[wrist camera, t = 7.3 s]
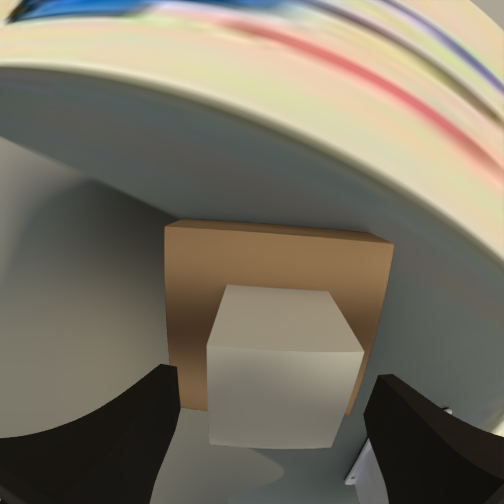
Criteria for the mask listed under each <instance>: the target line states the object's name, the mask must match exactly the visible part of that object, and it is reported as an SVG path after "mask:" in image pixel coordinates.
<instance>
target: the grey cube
mask: <svg viewBox="0 0 504 504" xmlns="http://www.w3.org/2000/svg"><path fill="white" fill-rule="evenodd" d="M363 355H364V350H363V348H362V347H361V345H360V343H359V341H358V340H357V338H356V336H355V335H354V333H353V331H352V330H351V328H350V326H349V325H348V323H347V321H346V319H345V318H344V316H343V314H342V313H341V311H340V310H339V308H338V306H337V305H336V303H335V301H334V300H333V298H332V296H331V295H330V293H329V292H328V291H315V290H298V289H282V288H267V287H253V286H240V285H227V286H226V289H225V292H224V295H223V298H222V301H221V304H220V307H219V310H218V313H217V316H216V319H215V322H214V325H213V328H212V331H211V334H210V337H209V340H208V343H207V399H208V428H209V429H208V430H209V444H214V445H223V446H233V447H245V448H264V449H311V448H330V447H332V444H333V442H334V439H335V437H336V434H337V432H338V429H339V427H340V424H341V422H342V419H343V416H344V414H345V411H346V408H347V405H348V403H349V400H350V397H351V394H352V391H353V388H354V385H355V382H356V379H357V375H358V372H359V369H360V366H361V362H362V359H363Z"/></svg>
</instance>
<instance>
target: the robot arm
mask: <svg viewBox="0 0 504 504" xmlns="http://www.w3.org/2000/svg"><path fill="white" fill-rule="evenodd" d="M180 409H181V404H180V395H179V384H178V372H177V366H171V365H165V364H160V365H159V366H157V367H156V368H155V369H153V370H152V371H151V372H150V373H148V374H147V375H146V376H144V378H142V379H141V380H139V381H138V382H137V383H136V384H134V385H133V386H131V387H130V388H129V389H127V390H126V391H125V392H123V393H122V394H121V395H119V396H118V397H116V398H115V399H113V400H112V401H110V402H108V403H107V404H105V405H104V406H102V407H101V408H99V409H97V410H95V411H93V412H92V413H90V414H87V415H85V416H83V417H81V418H79V419H77V420H75V421H72V422H69V423H67V424H64V425H61V426H58V427H56V428H53V429H50V430H46V431H42V432H39V433H34V434H30V435H25V436H18V437H10V438H0V499H1V501H0V504H149V503H150V499H151V495H152V491H153V487H154V483H155V480H156V478H157V475H158V472H159V470H160V467H161V464H162V462H163V460H164V457H165V455H166V452H167V450H168V447H169V445H170V442H171V439H172V437H173V435H174V432H175V429H176V425H177V421H178V417H179V413H180ZM451 414H452V411H451V409H446V410H443V409H441V408H440V407H438V406H437V405H435V404H434V403H432V402H431V401H430V400H428V399H427V398H425V397H424V396H423V395H421V394H420V393H418V392H417V391H416V390H414V389H413V388H412V387H410V386H409V385H408V384H406V383H405V382H403V381H402V380H401V379H399V378H398V377H396V376H395V375H393V374H387V375H378V377H377V380H376V383H375V385H374V388H373V391H372V394H371V396H370V399H369V401H368V404H367V407H366V409H365V412H364V414H363V415H364V420H365V425H366V430H367V434H368V440H367V442H366V444H365V446H364V448H363V450H362V451H361V453H360V455H359V457H358V459H357V461H356V462H355V464H354V466H353V468H352V469H351V471H350V473H349V474H348V476H347V478H346V479H345V484H346V485H351V484H355V488H356V492H357V496H358V500H359V504H504V437H502V436H498V435H495V434H492V433H489V432H486V431H483V430H481V429H478V428H476V427H474V426H472V425H470V424H468V423H466V422H464V421H462V420H460V419H458V418H456V417H454V416H453V415H451Z"/></svg>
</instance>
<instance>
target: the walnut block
mask: <svg viewBox="0 0 504 504" xmlns="http://www.w3.org/2000/svg"><path fill="white" fill-rule="evenodd" d="M393 248H394V244H393V243H391V242H389V241H386V240H384V239H382V238H380V237H378V236H376V235H374V234H371V233H364V232H354V231H344V230H333V229H322V228H311V227H299V226H287V225H274V224H261V223H247V222H232V221H217V220H200V219H181V220H179V221H176V222H174V223H172V224H170V225H167V226H165V299H166V321H167V335H168V336H167V337H168V351H169V361H170V362H169V363H170V365H171V366H177V372H178V384H179V395H180V404H181V407H182V408H189V409H195V410H202V411H208V399H207V343H208V340H209V337H210V334H211V331H212V328H213V325H214V322H215V319H216V316H217V313H218V310H219V307H220V304H221V301H222V298H223V295H224V292H225V289H226V286H227V285H240V286H253V287H267V288H282V289H298V290H315V291H328V292H329V293H330V295H331V296H332V298H333V300H334V301H335V303H336V305H337V306H338V308H339V310H340V311H341V313H342V314H343V316H344V318H345V319H346V321H347V323H348V325H349V326H350V328H351V330H352V331H353V333H354V335H355V336H356V338H357V340H358V341H359V343H360V345H361V347H362V348H363V350H364V355H363V359H362V362H361V366H360V369H359V372H358V375H357V379H356V382H355V385H354V388H353V391H352V394H351V397H350V400H349V403H348V405H347V408H346V411H345V414H344V415H350V412H351V410H352V407H353V404H354V402H355V399H356V396H357V393H358V390H359V387H360V384H361V381H362V378H363V375H364V372H365V369H366V366H367V362H368V359H369V356H370V352H371V349H372V345H373V342H374V338H375V334H376V330H377V327H378V323H379V319H380V314H381V310H382V306H383V301H384V297H385V292H386V287H387V282H388V277H389V272H390V266H391V261H392V255H393Z"/></svg>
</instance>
